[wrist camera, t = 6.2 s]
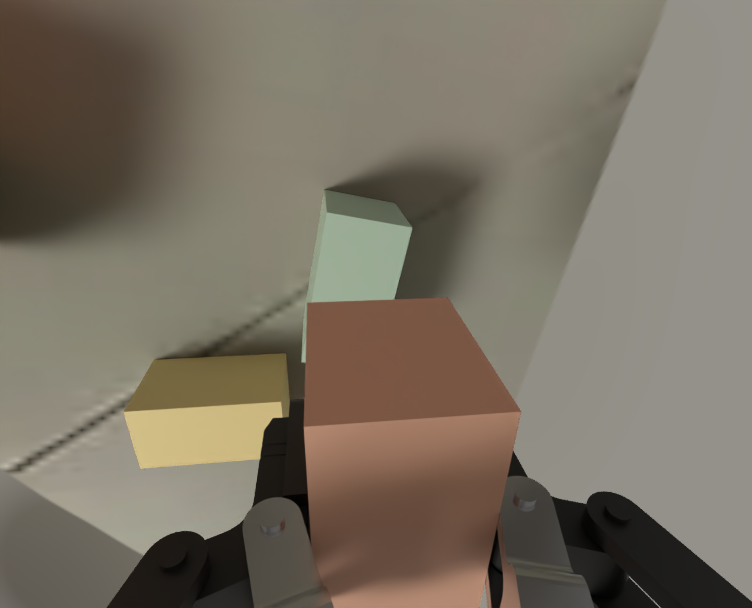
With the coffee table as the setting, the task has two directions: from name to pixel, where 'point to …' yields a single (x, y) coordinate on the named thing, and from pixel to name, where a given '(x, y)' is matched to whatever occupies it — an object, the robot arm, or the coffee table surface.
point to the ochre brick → (206, 408)
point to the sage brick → (356, 251)
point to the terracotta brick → (403, 453)
